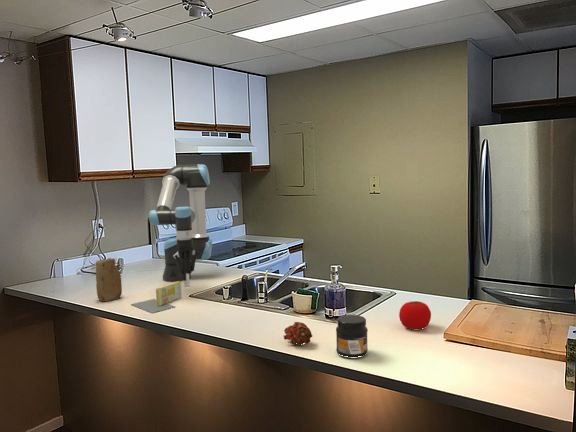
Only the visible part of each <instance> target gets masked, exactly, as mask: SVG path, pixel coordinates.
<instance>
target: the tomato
mask: <svg viewBox="0 0 576 432" xmlns="http://www.w3.org/2000/svg"><path fill="white" fill-rule="evenodd" d="M398 314H399V315H398V318H399V321H400V323H401V325H402V326H403V327H405V328H406V327H407V329H409V328H411V329H410V330H412V329H421V330H423V329H422V328H424V329H426V328H427V327H428V326H429V323H430V322H431V318H432V311H431V309H430V307H429V306H428V304H426V303H425V302H423V301H415V300H413V301H411V300H409V301H407V302H404V304H402V305H401V307H400V309H399V312H398ZM425 327H426V328H425Z"/></svg>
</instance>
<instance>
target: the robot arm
mask: <svg viewBox="0 0 576 432" xmlns="http://www.w3.org/2000/svg"><path fill="white" fill-rule="evenodd" d="M161 184H162V187H161V190H160V193H159V198H158V200H157V203H156V204H157V205H156V208H155V209H152V210H150V211H149V213H148V221H149V224H151V225H152V226H168V225H172V226H173V225H175V226H176V227H175V232H176V237H173V238H169V239H166V240H165V241H164V244H163V245H164V247H163V251H164V265H165V266H164V270H163V272H162V273H163V274H162V280H163V281H164V282H177V281H181V282H182V281H183V287H185V288H190V287H191V285H190V283H191V282H190V280H191V279H192V278H191V277H192V276H191V274H192V273H193V272H194V271H195V267H196V261H204V260H205V261H206V260H209V259H210V258H211V256H212V250H213V249H212V248H213V239H211V238H210V235H209V234H208V232H207V221H206V217H207V215H206V193H205V191H206V190H207V189H208V186H209V185H210V184H211V180H210V173H209V169H208V167H207V165H206V164H201V163H200V164H199V163H197V164H194V163H193V164H177V165H174V166H173V167H171V168H170V169H169V170H167V171H166V172H165V173H164V175H163V177H162V181H161ZM180 186H186V190H187V191H188V194H189V206H177V207H175V209H172V208H173V205H174V201H175V196H176V193H177V189H179V187H180Z"/></svg>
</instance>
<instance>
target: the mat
mask: <svg viewBox="0 0 576 432" xmlns="http://www.w3.org/2000/svg"><path fill="white" fill-rule="evenodd" d="M130 305H131V306H133V307H135V308H138V309H140V310H143V311H145V312H147V313H150V314H155V313H159V312H163V311H168V310H171V308H172V309H175V307H176V306H175V305H172V304H169V303H166V304H163V305H161V306H157V300H156V298H152V299H146V300H144V301H138V302H134V303H131V304H130ZM167 309H168V310H167Z"/></svg>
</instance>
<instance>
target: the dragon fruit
mask: <svg viewBox="0 0 576 432" xmlns="http://www.w3.org/2000/svg"><path fill="white" fill-rule="evenodd" d="M283 331H284V334H283V339H284V340H285V341H286V340H288V341H290V344H291V345H292V344H295V345H298V344H300V345H299V346H302V345H301V344H303V343H305V344H309V343H310V342H311V338H313V334H312V331H311V330H310V328H309V327H308V326H307V325H306V324H305V323H304V322H300V321H294V323H293V324H291V325H289V326H288V327H285V329H284V330H283ZM296 343H297V344H296Z"/></svg>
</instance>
